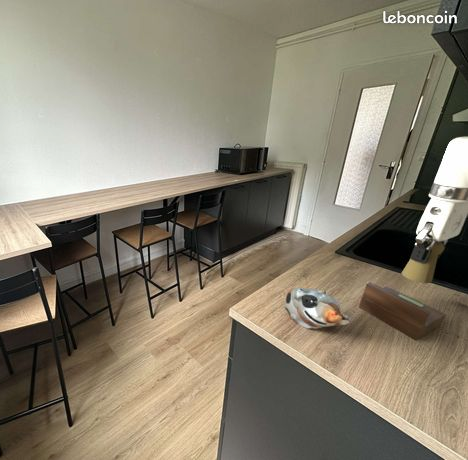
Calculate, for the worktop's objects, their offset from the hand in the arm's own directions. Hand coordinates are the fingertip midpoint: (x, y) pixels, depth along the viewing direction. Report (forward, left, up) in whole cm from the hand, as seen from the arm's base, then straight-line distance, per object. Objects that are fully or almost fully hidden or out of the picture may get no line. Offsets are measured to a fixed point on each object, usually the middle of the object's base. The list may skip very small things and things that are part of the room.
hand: (424, 258), depth 66 cm
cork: (0, 0, -6) cm, 6 cm away
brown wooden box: (+2, 0, -19) cm, 19 cm away
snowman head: (+25, -9, -19) cm, 33 cm away
